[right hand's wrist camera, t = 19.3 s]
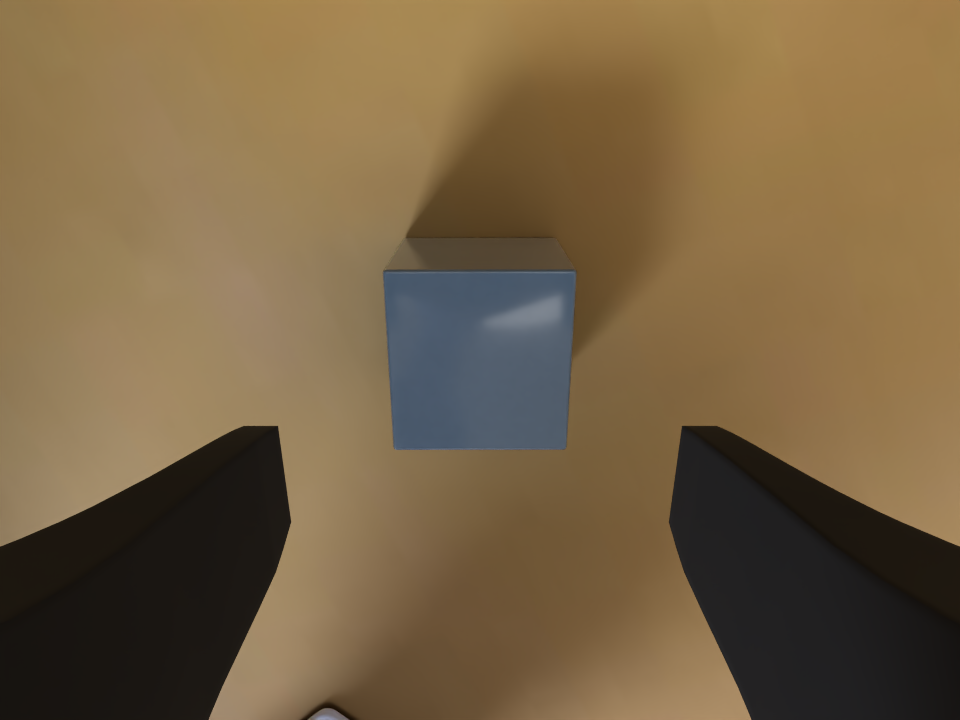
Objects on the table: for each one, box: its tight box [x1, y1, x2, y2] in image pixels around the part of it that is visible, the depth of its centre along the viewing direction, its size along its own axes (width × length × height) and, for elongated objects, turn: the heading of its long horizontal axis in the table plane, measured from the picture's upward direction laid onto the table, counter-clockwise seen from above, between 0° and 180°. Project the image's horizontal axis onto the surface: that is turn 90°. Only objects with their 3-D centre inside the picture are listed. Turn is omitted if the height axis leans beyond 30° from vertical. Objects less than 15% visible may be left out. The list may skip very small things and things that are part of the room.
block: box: [383, 238, 577, 450], centre depth 18 cm, size 5×5×4 cm
